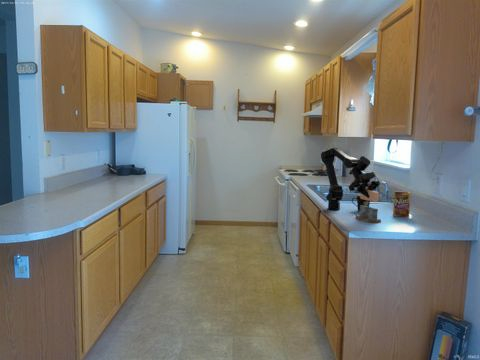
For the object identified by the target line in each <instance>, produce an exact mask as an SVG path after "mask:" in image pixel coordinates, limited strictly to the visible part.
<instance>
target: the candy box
mask: <svg viewBox="0 0 480 360" xmlns="http://www.w3.org/2000/svg"><path fill="white" fill-rule="evenodd" d="M411 197H412V191H401V190H395V191H394V197H393V209H392V210H393V211H392V216H393V217H401V218H408V219H409V217H410V209H411Z"/></svg>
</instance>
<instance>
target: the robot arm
mask: <svg viewBox="0 0 480 360" xmlns="http://www.w3.org/2000/svg"><path fill="white" fill-rule="evenodd" d="M335 157H336V158H337V159H338V160H339V161H341V162H342V163H343V165H344V166H345V167H346V168H347V169H350V170H349V173H348V175H352V176H353V178H354V180H353V181H352V182H351V183H350V184H349V185H348V190H349V191H350V192H354V191H355V188H356V192H357V193H359V194H363V195H364V196H366V197H367V198H369V197H370V196H369V194H368V192H367V190H371V191H374V190H376V189H377V188H378V186H380V185H381V183H380V181H379V180H373V179H374V178H375V177H376V173H375V172H374V171H371V172H365V173H364V172H363V171H366V169H367V168H369V166H370V165H371V161H370V159H369V158H366V157H365V156H364V155H363V156H360V158H359V159H358V158H356V157H354V156H353V157H352V156H349V155H348V154H346V153H345V152H344V151H342V150H341V149H340V148H338V147H331V148H330V149H327V150H324V151H322V152H321V153H320V159H321V162H322V163H323V164H324V165H325V168H326V172H327V173H326V174H327V177H328V181H329V189H328V193H327V195H326V196H325V198H326V200H327V201H328V203H327V205H328V206H327V208H326V210H328V211H329V210H331V211H338V210H339V211H340V209H341V202H340V201H342V200H343V196H344V189H343V186H342V185H339V183H338V178H337V174H336V171H335V165H334V162H335ZM371 180H372V181H371ZM370 181H371V182H370Z"/></svg>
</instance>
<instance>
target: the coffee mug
mask: <svg viewBox="0 0 480 360" xmlns="http://www.w3.org/2000/svg"><path fill="white" fill-rule="evenodd" d="M360 195H361V193H359V194H356V197H353V198H352V199H351V203H352V204H353V206H354V205H355V207H357V212H360V205H364V206H368V207H370V203H371V201H368V200H364V199H360ZM354 199H356V202H357V204H356V203H355V202H354V201H353V200H354Z"/></svg>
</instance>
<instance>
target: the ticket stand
mask: <svg viewBox="0 0 480 360" xmlns="http://www.w3.org/2000/svg"><path fill="white" fill-rule="evenodd" d="M356 218H357V220H361V221H363V222H366V223H370V224H375V223H377V224H378V223H381V222H382V219H381V218H378V208H375V207H371V206H369V207H368V206H364V205H360V211H359V213H358V215H355V219H356Z"/></svg>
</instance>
